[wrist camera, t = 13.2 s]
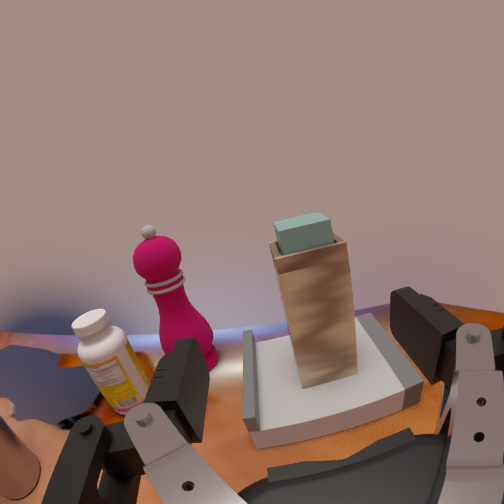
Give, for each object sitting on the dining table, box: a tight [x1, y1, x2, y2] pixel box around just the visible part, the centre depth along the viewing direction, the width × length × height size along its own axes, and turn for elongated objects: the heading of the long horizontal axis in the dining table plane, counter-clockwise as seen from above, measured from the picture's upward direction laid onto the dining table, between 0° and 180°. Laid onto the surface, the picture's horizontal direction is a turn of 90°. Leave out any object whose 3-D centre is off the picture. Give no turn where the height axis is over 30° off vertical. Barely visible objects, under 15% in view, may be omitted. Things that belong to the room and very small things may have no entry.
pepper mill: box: [133, 225, 218, 371], centre depth 34 cm, size 7×7×20 cm
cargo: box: [274, 212, 334, 256], centre depth 23 cm, size 4×4×3 cm
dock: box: [243, 313, 424, 449], centre depth 27 cm, size 16×14×5 cm
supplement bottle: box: [72, 309, 151, 415], centre depth 29 cm, size 7×7×13 cm
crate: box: [269, 232, 358, 389], centre depth 25 cm, size 6×6×13 cm
